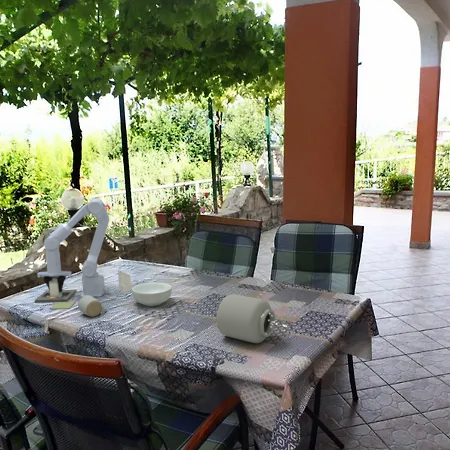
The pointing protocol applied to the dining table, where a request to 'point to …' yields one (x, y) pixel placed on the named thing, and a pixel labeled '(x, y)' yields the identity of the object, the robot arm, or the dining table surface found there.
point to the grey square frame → (55, 299)
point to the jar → (245, 318)
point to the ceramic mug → (90, 306)
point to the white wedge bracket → (124, 282)
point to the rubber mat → (62, 305)
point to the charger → (54, 288)
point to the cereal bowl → (151, 293)
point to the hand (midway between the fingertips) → (56, 292)
